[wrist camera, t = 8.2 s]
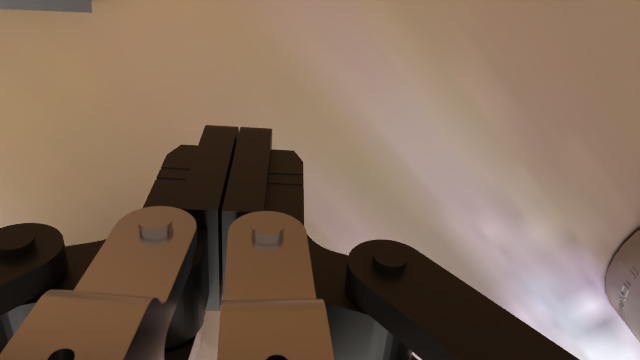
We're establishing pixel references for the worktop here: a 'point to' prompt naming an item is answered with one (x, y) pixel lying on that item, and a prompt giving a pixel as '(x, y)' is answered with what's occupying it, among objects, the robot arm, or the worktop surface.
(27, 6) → the domino
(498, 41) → the worktop surface
